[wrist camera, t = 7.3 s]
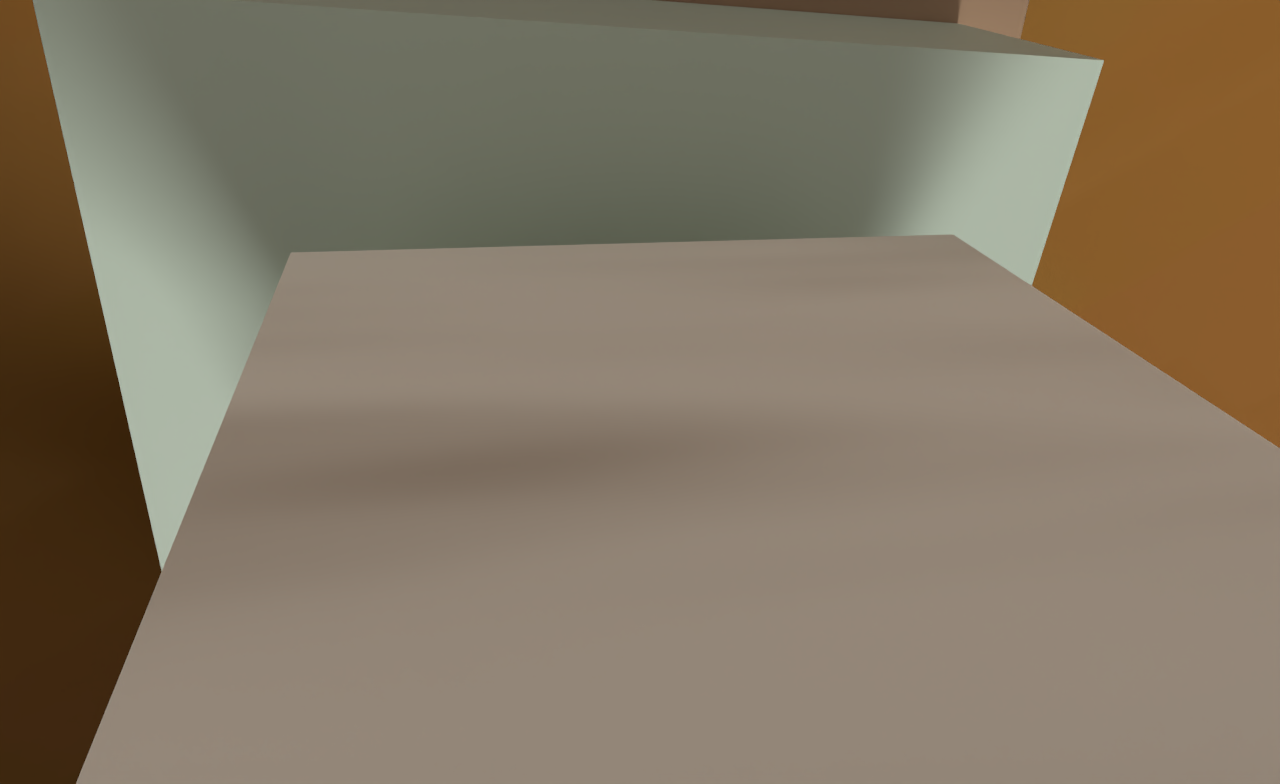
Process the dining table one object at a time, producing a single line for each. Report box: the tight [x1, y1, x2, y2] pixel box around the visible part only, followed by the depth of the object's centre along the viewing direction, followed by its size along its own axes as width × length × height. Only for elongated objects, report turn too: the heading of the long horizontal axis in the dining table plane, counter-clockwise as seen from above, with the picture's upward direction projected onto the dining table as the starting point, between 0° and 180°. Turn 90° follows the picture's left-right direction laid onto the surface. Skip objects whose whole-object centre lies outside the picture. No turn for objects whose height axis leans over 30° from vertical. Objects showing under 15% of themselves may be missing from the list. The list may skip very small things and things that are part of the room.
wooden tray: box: [657, 0, 1029, 39], centre depth 14 cm, size 12×12×3 cm
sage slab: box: [33, 0, 1104, 571], centre depth 12 cm, size 10×10×3 cm
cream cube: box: [76, 234, 1280, 784], centre depth 7 cm, size 6×6×6 cm
